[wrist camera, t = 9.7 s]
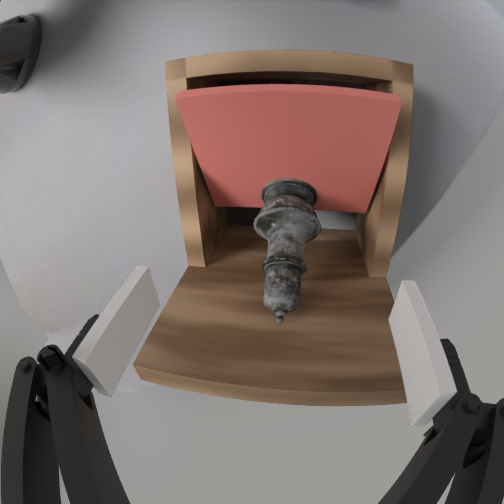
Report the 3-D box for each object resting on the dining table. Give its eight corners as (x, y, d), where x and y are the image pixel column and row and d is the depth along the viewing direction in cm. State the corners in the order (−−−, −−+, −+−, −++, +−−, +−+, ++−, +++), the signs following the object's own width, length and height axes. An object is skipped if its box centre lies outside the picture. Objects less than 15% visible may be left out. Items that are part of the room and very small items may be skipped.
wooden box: (203, 69, 27) (49, 54, 8) (380, 72, 24) (516, 52, 5) (216, 237, 38) (141, 379, 19) (365, 245, 35) (407, 402, 16)
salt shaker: (322, 213, 28) (320, 333, 23) (265, 215, 30) (251, 330, 24) (318, 173, 23) (317, 315, 18) (250, 177, 25) (230, 312, 19)
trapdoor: (178, 91, 18) (174, 98, 17) (398, 95, 15) (401, 102, 15) (217, 198, 30) (215, 206, 29) (364, 205, 27) (365, 213, 27)
